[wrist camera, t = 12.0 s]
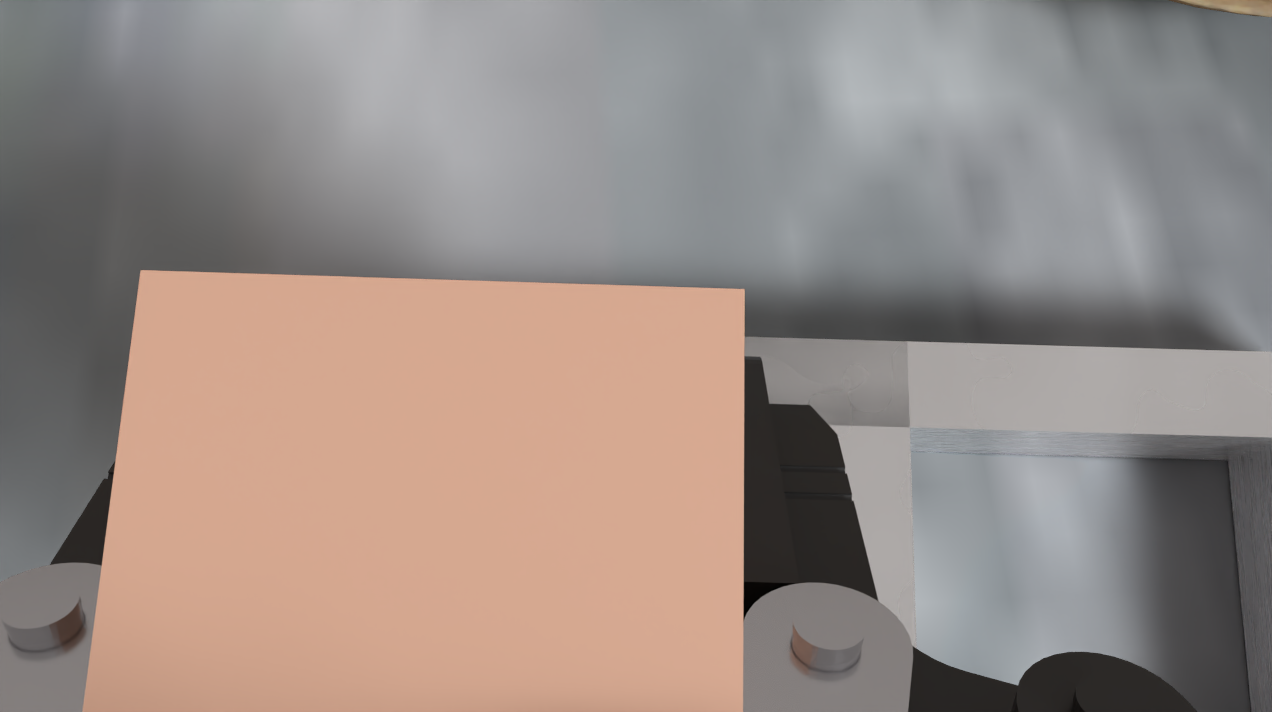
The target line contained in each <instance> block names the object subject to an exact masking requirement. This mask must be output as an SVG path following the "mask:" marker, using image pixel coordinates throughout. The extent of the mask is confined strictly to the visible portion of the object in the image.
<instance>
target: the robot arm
mask: <svg viewBox="0 0 1272 712" xmlns="http://www.w3.org/2000/svg"><path fill="white" fill-rule="evenodd" d="M114 469H115V462H114V464H113V465H112V467H111V468H110V470H109V472H108V473H109V476H108V479H104V480H103V481H102V483H101V484H100V486H99V488H98V489H97V491H96V492H95V494H94V495H93V497H92V499H91V500H90V502H89V503H88V505H87V507H86V508H85V510H84V511H83V513H82V515H81V516H80V518H79V519H78V521H77V522H76V524H75V526H74V527H73V529H72V530H71V532H70V534H69V535H68V537H67V538H66V540H65V542H64V543H63V545H62V546H61V548H60V549H59V551H58V553H57V554H56V556H55V557H54V559H53V561H52V562H51V564H50V565H48V566H42V567H39V568H35V569H31V570H28V571H25V572H22V573H20V574H17V575H14V576H12V577H10V578H8V579H6V580H4V581H2V582H0V712H82V711H83V704H84V696H85V689H86V681H87V673H88V666H89V658H90V651H91V643H92V635H93V628H94V620H95V613H96V605H97V598H98V590H99V582H100V575H101V567H102V560H103V552H104V544H105V537H106V529H107V522H108V514H109V506H110V499H111V491H112V484H113V476H114ZM743 712H1197V711H1196V710H1195V709H1194V708H1193V707H1192V706H1191V704H1190V703H1189V702H1188V701H1187V700H1186V699H1185V698H1184V697H1183V696H1182V695H1181V694H1180V693H1178V692H1177V691H1176V690H1175V689H1174V688H1173V687H1172V686H1171V685H1169V684H1168V683H1166V682H1165V681H1164V680H1162V679H1161V678H1160V677H1158V676H1156V675H1155V674H1153V673H1151V672H1149V671H1148V670H1146V669H1144V668H1142V667H1140V666H1137V665H1135V664H1133V663H1131V662H1128V661H1125V660H1122V659H1119V658H1116V657H1113V656H1108V655H1103V654H1099V653H1089V652H1067V653H1061V654H1055V655H1052V656H1049V657H1046V658H1043V659H1042V660H1040V661H1038V662H1037V663H1035V664H1033V665H1032V666H1031V667H1030V668H1029V669H1028V670H1027V671H1026V672H1025V673H1024V675H1023V676H1022V678H1021V680H1020V682H1019V685H1018V686H1017V685H1013V684H1010V683H1006V682H1002V681H999V680H995V679H991V678H988V677H984V676H980V675H977V674H973V673H969V672H966V671H963V670H960V669H957V668H954V667H951V666H948V665H946V664H944V663H941V662H939V661H937V660H935V659H933V658H931V657H929V656H928V655H926V654H924V653H922V652H921V651H919V650H918V649H916V648H915V647H914V646H912V643H911V639H910V636H909V634H908V632H907V630H906V628H905V626H904V625H903V624H902V623H901V621H900V620H899V619H898V617H897V616H896V615H895V614H894V613H892V612H891V611H890V610H889V609H888V608H887V607H886V606H884V605H883V604H881V603H880V602H879V601H878V597H877V593H876V589H875V585H874V581H873V577H872V573H871V569H870V564H869V560H868V556H867V552H866V548H865V544H864V540H863V536H862V532H861V528H860V524H859V520H858V516H857V512H856V508H855V504H854V501H852V492H851V488H850V484H849V480H848V476H847V473H845V463H844V459H843V455H842V451H841V447H840V443H839V439H838V435H837V433H836V432H835V431H834V430H833V429H832V428H831V427H830V426H829V425H828V424H827V423H826V421H825V420H824V419H823V418H822V417H821V416H820V415H819V414H818V413H817V412H816V411H815V410H814V409H813V407H812V406H811V405H797V404H769V398H768V392H767V387H766V381H765V375H764V369H763V363H762V359H761V357H756V356H744V595H743Z"/></svg>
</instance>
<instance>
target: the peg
mask: <svg viewBox="0 0 1272 712" xmlns="http://www.w3.org/2000/svg"><path fill="white" fill-rule="evenodd" d="M744 346H745V289H724V288H692V287H661V286H629V285H597V284H565V283H534V282H502V281H470V280H439V279H407V278H375V277H343V276H312V275H280V274H248V273H217V272H185V271H153V270H141V271H140V279H139V286H138V294H137V302H136V309H135V317H134V324H133V332H132V340H131V347H130V355H129V362H128V370H127V377H126V385H125V393H124V400H123V408H122V415H121V423H120V431H119V438H118V446H117V453H116V461H115V469H114V476H113V484H112V491H111V499H110V506H109V514H108V522H107V529H106V537H105V544H104V552H103V560H102V567H101V575H100V582H99V590H98V598H97V605H96V613H95V620H94V628H93V635H92V643H91V651H90V658H89V666H88V673H87V681H86V689H85V696H84V704H83V711H82V712H743V595H744Z"/></svg>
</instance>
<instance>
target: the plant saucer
mask: <svg viewBox="0 0 1272 712" xmlns="http://www.w3.org/2000/svg"><path fill="white" fill-rule="evenodd" d="M1170 1H1174V2H1178V3H1182V4H1186V5H1190V6H1194V7H1198V8H1204V9H1210V10H1217V11H1224V12H1230V13H1237V14H1245V15H1253V16H1264V17H1272V0H1170Z"/></svg>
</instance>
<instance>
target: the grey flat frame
mask: <svg viewBox="0 0 1272 712" xmlns="http://www.w3.org/2000/svg"><path fill="white" fill-rule="evenodd" d="M744 356H756V357H761V359H762V363H763V369H764V375H765V381H766V387H767V392H768V398H769V404H797V405H811V406H812V407H813V409H814V410H815V411H816V412H817V413H818V414H819V415H820V416H821V417H822V418H823V419H824V420H825V421H826V423H827V424H828V425H829V426H830V427H831V428H832V429H833V430H834V431H835V432H836V433H837V435H838V439H839V443H840V447H841V451H842V455H843V459H844V463H845V473H847V476H848V480H849V484H850V488H851V492H852V501H854V504H855V508H856V512H857V516H858V520H859V524H860V528H861V532H862V536H863V540H864V544H865V548H866V552H867V556H868V560H869V564H870V569H871V573H872V577H873V581H874V585H875V589H876V593H877V597H878V601H879V602H880V603H881V604H883V605H884V606H886V607H887V608H888V609H889V610H890V611H891V612H892V613H894V614H895V615H896V616H897V617H898V619H899V620H900V621H901V623H902V624H903V625H904V626H905V628H906V630H907V632H908V634H909V636H910V639H911V643H912V646H914V647H915V648H916V616H915V582H914V549H913V516H912V482H911V452H947V453H983V454H1019V455H1056V456H1092V457H1128V458H1164V459H1200V460H1228V466H1229V476H1230V487H1231V498H1232V508H1233V519H1234V530H1235V541H1236V551H1237V562H1238V573H1239V583H1240V594H1241V605H1242V615H1243V626H1244V637H1245V648H1246V658H1247V669H1248V680H1249V690H1250V701H1251V712H1272V352H1258V351H1223V350H1188V349H1154V348H1119V347H1084V346H1049V345H1015V344H980V343H945V342H910V341H876V340H841V339H806V338H771V337H745V346H744Z"/></svg>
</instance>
